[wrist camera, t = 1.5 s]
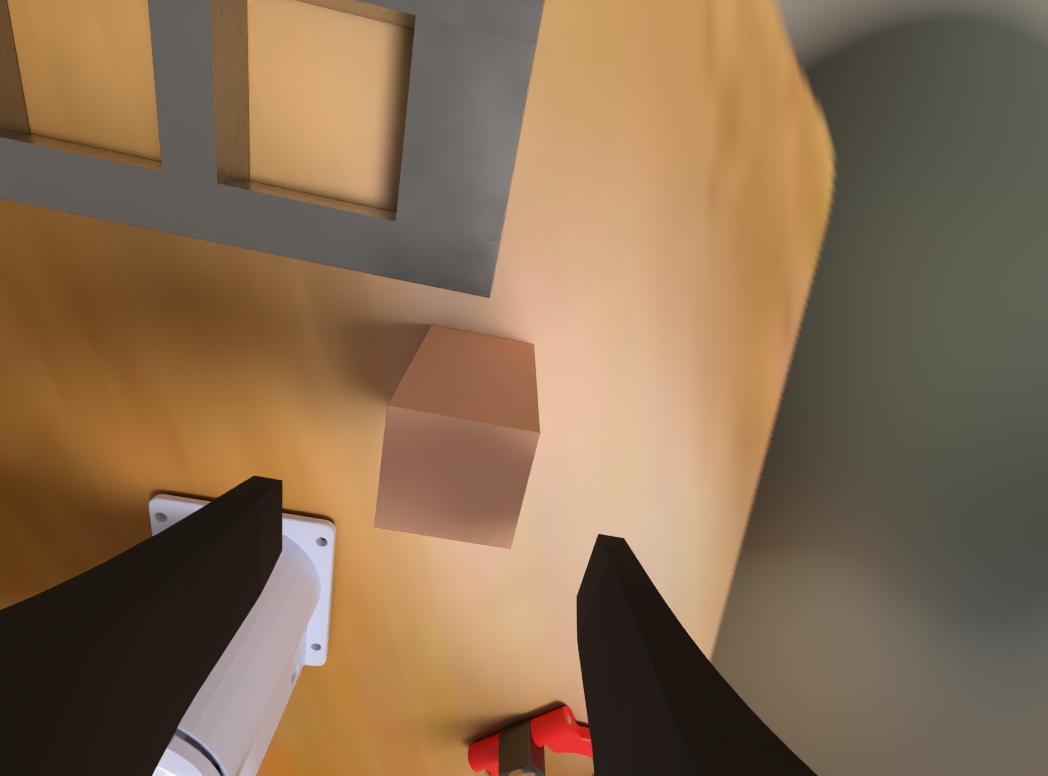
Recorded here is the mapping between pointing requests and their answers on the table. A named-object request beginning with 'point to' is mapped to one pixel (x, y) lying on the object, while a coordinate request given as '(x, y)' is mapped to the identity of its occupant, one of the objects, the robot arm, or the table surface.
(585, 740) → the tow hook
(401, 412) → the peg
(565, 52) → the table surface
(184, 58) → the grey slotted board
